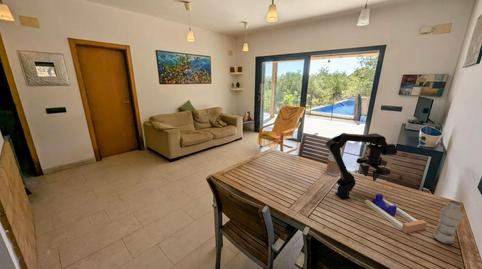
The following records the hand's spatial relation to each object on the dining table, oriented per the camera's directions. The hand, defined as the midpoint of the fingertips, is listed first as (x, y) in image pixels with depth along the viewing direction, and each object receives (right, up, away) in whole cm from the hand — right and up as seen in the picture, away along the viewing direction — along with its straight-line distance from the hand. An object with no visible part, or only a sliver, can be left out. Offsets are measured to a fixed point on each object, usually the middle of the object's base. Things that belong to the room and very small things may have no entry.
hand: (369, 178), depth 116 cm
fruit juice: (-7, -4, +34) cm, 35 cm away
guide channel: (+3, -17, -12) cm, 21 cm away
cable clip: (+2, -16, -8) cm, 18 cm away
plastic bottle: (+13, -22, -29) cm, 39 cm away
